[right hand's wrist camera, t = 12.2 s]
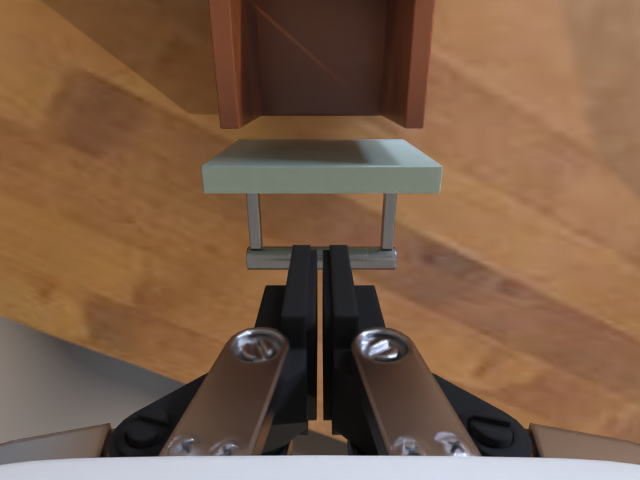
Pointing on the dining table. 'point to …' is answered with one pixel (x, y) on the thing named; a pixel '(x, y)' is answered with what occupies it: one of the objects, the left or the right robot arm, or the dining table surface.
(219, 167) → the drawer
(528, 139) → the dining table surface
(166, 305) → the dining table surface
